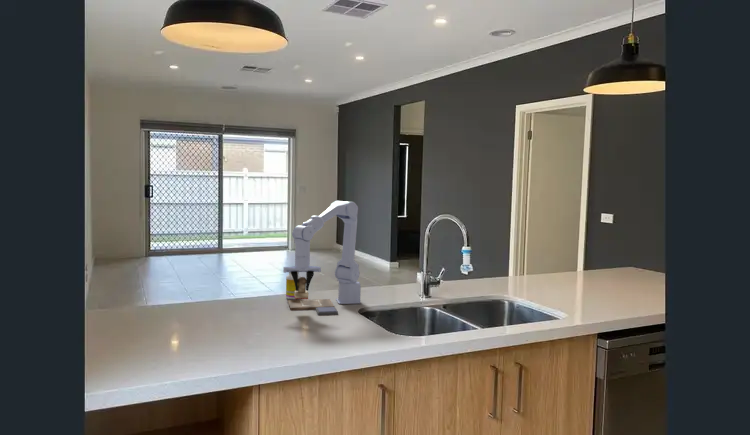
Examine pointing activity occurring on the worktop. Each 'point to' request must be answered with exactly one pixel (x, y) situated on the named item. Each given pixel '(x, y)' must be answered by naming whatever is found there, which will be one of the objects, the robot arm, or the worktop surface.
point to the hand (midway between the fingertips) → (301, 290)
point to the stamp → (301, 289)
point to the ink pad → (326, 311)
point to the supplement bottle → (290, 286)
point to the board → (309, 304)
